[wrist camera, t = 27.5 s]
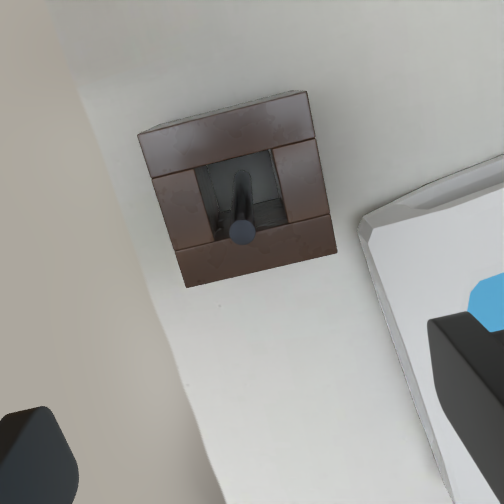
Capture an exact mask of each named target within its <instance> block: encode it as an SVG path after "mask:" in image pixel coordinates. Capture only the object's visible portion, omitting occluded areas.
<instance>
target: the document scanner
mask: <svg viewBox="0 0 504 504" xmlns="http://www.w3.org/2000/svg"><path fill="white" fill-rule="evenodd" d="M357 232H358V235H359V239H360V242H361V245H362V248H363V252H364V255H365V258H366V262H367V265H368V268H369V271H370V275H371V278H372V281H373V285H374V288H375V291H376V294H377V297H378V300H379V303H380V306H381V309H382V312H383V315H384V318H385V321H386V323H387V326H388V329H389V332H390V335H391V338H392V341H393V344H394V347H395V350H396V353H397V355H398V358H399V361H400V364H401V367H402V370H403V373H404V376H405V379H406V382H407V385H408V387H409V390H410V393H411V396H412V399H413V402H414V405H415V408H416V411H417V414H418V416H419V419H420V421H421V423H422V425H423V427H424V429H425V432H426V435H427V438H428V441H429V444H430V446H431V449H432V452H433V455H434V458H435V460H436V463H437V466H438V469H439V472H440V474H441V477H442V480H443V483H444V485H445V487H446V489H447V491H448V493H449V495H450V497H451V499H452V501H453V503H454V504H500V502H499V501H498V499H497V498H496V496H495V494H494V493H493V491H492V490H491V488H490V486H489V485H488V483H487V481H486V480H485V478H484V477H483V475H482V473H481V472H480V470H479V469H478V467H477V465H476V464H475V462H474V461H473V459H472V457H471V456H470V454H469V453H468V451H467V449H466V448H465V446H464V444H463V443H462V441H461V440H460V438H459V436H458V435H457V433H456V432H455V430H454V428H453V427H452V425H451V424H450V422H449V420H448V419H447V417H446V415H445V414H444V412H443V410H442V407H441V405H440V402H439V400H438V397H437V394H436V390H435V385H434V379H433V371H432V364H431V356H430V349H429V341H428V334H427V322H428V320H429V319H433V318H437V317H442V316H446V315H451V314H455V313H460V312H464V311H468V312H470V313H471V314H472V315H473V316H474V317H475V318H476V319H477V320H478V321H479V322H480V323H481V324H482V325H483V326H484V327H485V328H486V329H487V330H488V331H489V332H495V331H499V330H504V154H503V155H501V156H498V157H496V158H493V159H491V160H488V161H485V162H483V163H480V164H478V165H475V166H473V167H470V168H467V169H465V170H462V171H460V172H457V173H455V174H452V175H450V176H447V177H444V178H442V179H439V180H437V181H434V182H432V183H429V184H427V185H425V186H423V187H421V188H419V189H417V190H415V191H413V192H411V193H409V194H407V195H405V196H403V197H401V198H399V199H397V200H395V201H393V202H391V203H389V204H387V205H385V206H383V207H380V208H378V209H376V210H374V211H372V212H370V213H368V214H366V215H364V216H362V219H361V221H360V224H359V227H358V229H357Z"/></svg>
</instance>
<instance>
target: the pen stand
mask: <svg viewBox="0 0 504 504" xmlns="http://www.w3.org/2000/svg"><path fill="white" fill-rule="evenodd" d="M137 137H138V140H139V143H140V146H141V149H142V152H143V155H144V158H145V161H146V165H147V168H148V171H149V174H150V177H151V178H152V183H153V187H154V190H155V193H156V196H157V199H158V202H159V205H160V208H161V211H162V214H163V218H164V221H165V224H166V227H167V230H168V233H169V236H170V239H171V242H172V246H173V249H174V251H175V255H176V258H177V261H178V264H179V267H180V270H181V273H182V277H183V280H184V283H185V286H186V288H189V287H194V286H198V285H202V284H206V283H211V282H215V281H219V280H224V279H228V278H232V277H237V276H241V275H245V274H249V273H254V272H258V271H262V270H267V269H271V268H275V267H279V266H284V265H288V264H292V263H297V262H301V261H305V260H310V259H314V258H318V257H322V256H327V255H331V254H335V253H337V246H336V241H335V236H334V231H333V225H332V220H331V215H330V214H329V213H330V210H329V204H328V199H327V194H326V189H325V183H324V178H323V173H322V168H321V162H320V157H319V152H318V147H317V141H316V139H315V131H314V126H313V120H312V115H311V110H310V105H309V99H308V94H307V91H294V90H292V91H288V92H284V93H280V94H276V95H273V96H269V97H265V98H261V99H257V100H253V101H249V102H245V103H241V104H238V105H234V106H230V107H226V108H222V109H218V110H214V111H210V112H206V113H203V114H199V115H195V116H191V117H187V118H183V119H179V120H175V121H171V122H168V123H164V124H160V125H157V126H155V127H153V128H150V129H148V130H146V131H144V132H141V133H139V134H138V135H137ZM265 150H269V154H270V158H271V162H272V167H273V171H274V176H275V180H276V184H277V189H278V193H279V197H280V198H278V199H274V200H269V201H265V202H261V203H257V204H253V207H254V218H255V228H256V235H255V238H254V240H253V241H252V242H251V243H249V244H247V245H238V244H236V243H234V242H233V241H232V240H231V238H230V236H229V227H230V216H231V210H228V211H224V212H220V210H219V207H218V203H217V199H216V196H215V192H214V188H213V185H212V181H211V178H210V174H209V170H208V167H207V165H208V164H212V163H216V162H220V161H224V160H228V159H232V158H236V157H240V156H244V155H249V154H253V153H257V152H261V151H265Z"/></svg>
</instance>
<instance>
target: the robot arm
mask: <svg viewBox="0 0 504 504" xmlns="http://www.w3.org/2000/svg"><path fill="white" fill-rule="evenodd" d="M427 334H428V341H429V349H430V356H431V364H432V371H433V379H434V385H435V390H436V394H437V397H438V400H439V402H440V405H441V407H442V410H443V412H444V414H445V415H446V417H447V419H448V420H449V422H450V424H451V425H452V427H453V428H454V430H455V432H456V433H457V435H458V436H459V438H460V440H461V441H462V443H463V444H464V446H465V448H466V449H467V451H468V453H469V454H470V456H471V457H472V459H473V461H474V462H475V464H476V465H477V467H478V469H479V470H480V472H481V473H482V475H483V477H484V478H485V480H486V481H487V483H488V485H489V486H490V488H491V490H492V491H493V493H494V494H495V496H496V498H497V499H498V501H499V502H500V504H504V330H499V331H495V332H489V331H488V330H487V329H486V328H485V327H484V326H483V325H482V324H481V323H480V322H479V321H478V320H477V319H476V318H475V317H474V316H473V315H472V314H471V313H470V312H468V311H464V312H460V313H455V314H451V315H446V316H442V317H437V318H433V319H429V320H428V322H427ZM78 482H79V473H78V466H77V463H76V460H75V458H74V456H73V454H72V451H71V449H70V447H69V445H68V443H67V441H66V439H65V437H64V435H63V433H62V431H61V429H60V427H59V425H58V423H57V421H56V419H55V417H54V415H53V413H52V411H51V410H50V409H49V408H47V407H45V406H40V407H36V408H32V409H28V410H23V411H18V412H14V413H9V414H7V415H5V416H4V417H3V418H2V419H1V421H0V504H72V502H73V500H74V498H75V495H76V492H77V488H78Z"/></svg>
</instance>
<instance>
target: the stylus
mask: <svg viewBox="0 0 504 504" xmlns="http://www.w3.org/2000/svg"><path fill="white" fill-rule="evenodd" d="M255 235H256V228H255V218H254V207H253V196H252V185H251V176H250V174H249V173H248V172H247V171H245V170H240V171H238V172H237V173H236V174H235V176H234V184H233V195H232V205H231V216H230V227H229V236H230V238H231V240H232V241H233V242H234V243H236V244H238V245H247V244H249V243H251V242H252V241H253V240H254V238H255Z"/></svg>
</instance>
